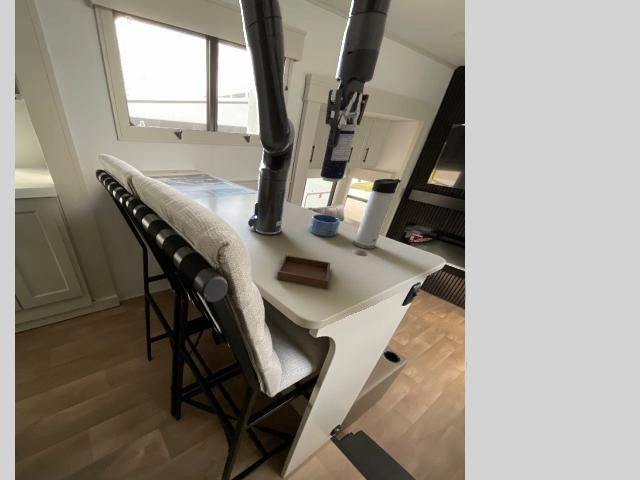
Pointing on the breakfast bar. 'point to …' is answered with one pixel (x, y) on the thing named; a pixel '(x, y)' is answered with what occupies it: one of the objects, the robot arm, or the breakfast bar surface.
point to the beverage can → (338, 155)
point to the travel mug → (375, 212)
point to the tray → (304, 271)
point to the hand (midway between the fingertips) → (338, 146)
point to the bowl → (324, 225)
